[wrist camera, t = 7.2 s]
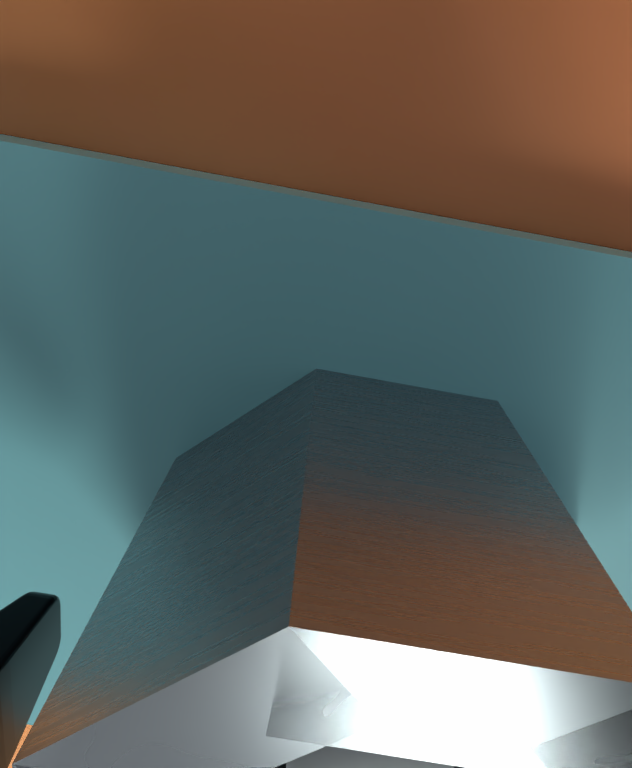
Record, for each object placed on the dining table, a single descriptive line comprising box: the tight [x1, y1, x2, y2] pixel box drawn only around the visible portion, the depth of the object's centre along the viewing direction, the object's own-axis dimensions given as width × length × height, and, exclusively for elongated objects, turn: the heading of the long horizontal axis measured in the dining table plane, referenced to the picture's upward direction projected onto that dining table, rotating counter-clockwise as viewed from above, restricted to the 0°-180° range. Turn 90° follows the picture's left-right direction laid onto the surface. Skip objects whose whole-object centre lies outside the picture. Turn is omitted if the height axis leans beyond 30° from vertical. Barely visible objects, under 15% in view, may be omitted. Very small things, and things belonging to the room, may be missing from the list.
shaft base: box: [0, 134, 632, 768], centre depth 9 cm, size 12×20×5 cm, turn 80°
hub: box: [12, 369, 632, 768], centre depth 8 cm, size 7×7×5 cm
